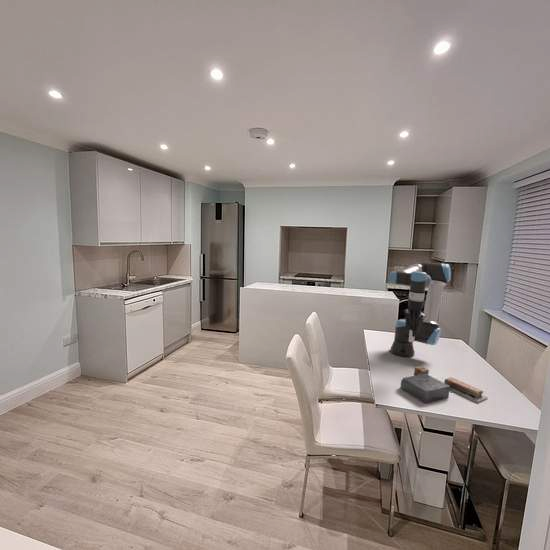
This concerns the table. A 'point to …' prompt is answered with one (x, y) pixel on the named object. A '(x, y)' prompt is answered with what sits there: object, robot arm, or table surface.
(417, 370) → the block
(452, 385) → the packaged product
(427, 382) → the housing
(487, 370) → the table surface
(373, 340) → the table surface
